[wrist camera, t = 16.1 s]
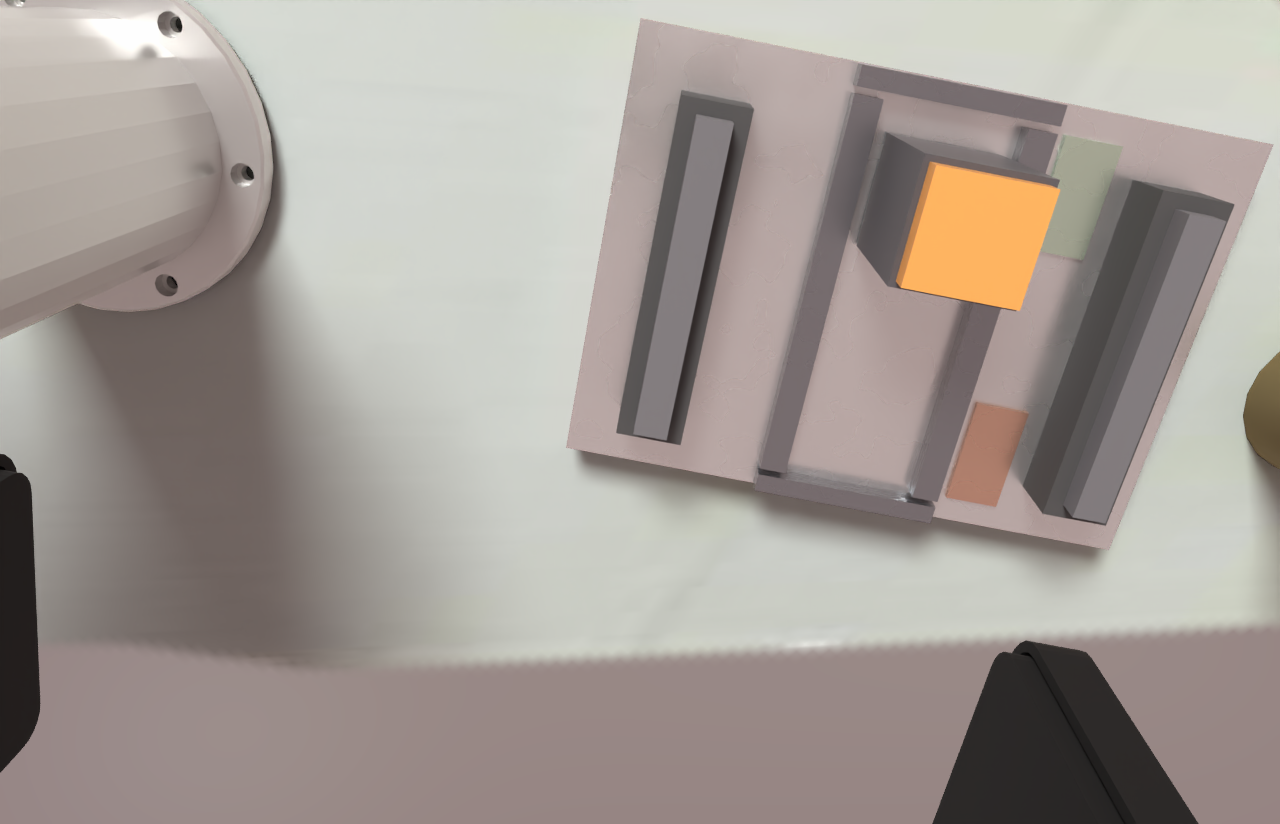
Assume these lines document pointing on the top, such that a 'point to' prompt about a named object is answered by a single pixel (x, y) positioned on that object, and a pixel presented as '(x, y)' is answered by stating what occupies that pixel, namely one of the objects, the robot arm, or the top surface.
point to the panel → (875, 285)
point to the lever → (956, 221)
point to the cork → (1265, 413)
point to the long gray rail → (1095, 371)
